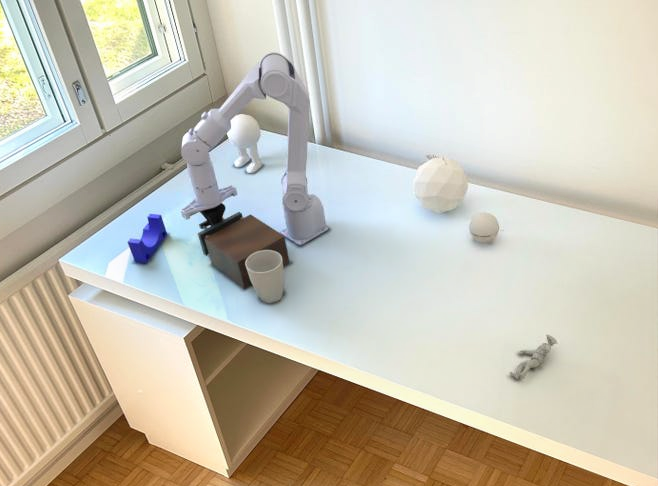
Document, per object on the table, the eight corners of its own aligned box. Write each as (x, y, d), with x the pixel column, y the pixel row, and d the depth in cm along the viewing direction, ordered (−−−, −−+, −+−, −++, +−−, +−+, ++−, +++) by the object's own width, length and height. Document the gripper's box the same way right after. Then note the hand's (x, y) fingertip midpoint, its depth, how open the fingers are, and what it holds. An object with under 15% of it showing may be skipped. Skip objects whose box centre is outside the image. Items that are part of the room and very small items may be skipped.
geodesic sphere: (390, 185, 189) (414, 156, 177) (426, 162, 197) (451, 132, 185) (426, 231, 190) (453, 205, 178) (460, 206, 198) (488, 180, 185)
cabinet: (212, 265, 178) (204, 238, 172) (256, 240, 184) (250, 214, 179) (244, 289, 171) (237, 262, 165) (289, 262, 178) (284, 236, 172)
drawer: (192, 246, 182) (186, 225, 178) (233, 224, 188) (228, 204, 184) (232, 275, 173) (227, 254, 169) (274, 252, 179) (269, 231, 175)
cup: (295, 288, 171) (288, 253, 164) (279, 310, 165) (271, 275, 158) (263, 281, 173) (256, 247, 166) (247, 303, 167) (238, 268, 160)
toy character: (228, 166, 210) (216, 117, 199) (252, 153, 215) (242, 105, 204) (249, 177, 206) (238, 127, 195) (273, 163, 210) (263, 114, 200)
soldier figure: (500, 373, 151) (529, 328, 155) (517, 388, 152) (545, 343, 156) (521, 371, 144) (551, 324, 148) (538, 386, 145) (567, 339, 149)
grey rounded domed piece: (463, 244, 181) (463, 219, 175) (476, 228, 185) (477, 203, 180) (500, 255, 177) (502, 230, 172) (513, 238, 182) (514, 213, 176)
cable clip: (151, 232, 188) (144, 213, 184) (167, 234, 187) (160, 214, 183) (129, 261, 180) (121, 241, 176) (146, 263, 179) (138, 243, 175)
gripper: (220, 164, 177) (231, 212, 187) (168, 188, 170) (182, 236, 180) (237, 175, 174) (248, 223, 183) (185, 200, 167) (199, 248, 176)
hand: (217, 230), depth 182 cm, fingers closed, pressing on drawer
